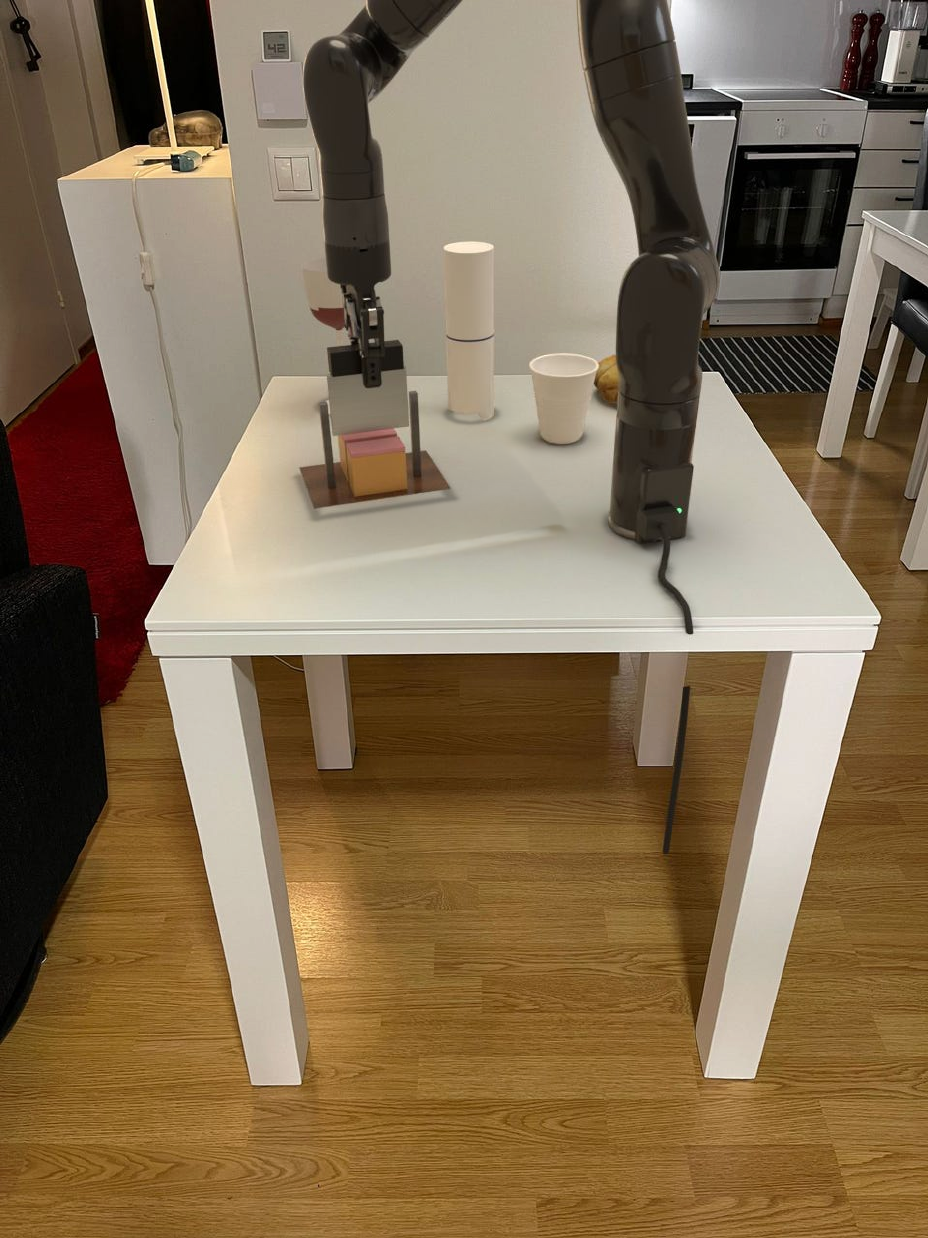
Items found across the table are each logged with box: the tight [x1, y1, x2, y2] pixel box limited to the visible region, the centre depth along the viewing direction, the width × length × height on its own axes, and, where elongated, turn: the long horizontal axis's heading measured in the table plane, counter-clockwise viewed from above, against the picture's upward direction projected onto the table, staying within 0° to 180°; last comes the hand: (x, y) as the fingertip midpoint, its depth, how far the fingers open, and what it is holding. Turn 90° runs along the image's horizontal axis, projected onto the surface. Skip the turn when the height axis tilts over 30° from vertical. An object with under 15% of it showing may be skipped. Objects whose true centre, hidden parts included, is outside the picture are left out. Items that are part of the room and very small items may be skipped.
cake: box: [337, 428, 407, 497], centre depth 128 cm, size 10×7×6 cm
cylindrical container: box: [443, 241, 495, 422], centre depth 145 cm, size 7×7×25 cm
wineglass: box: [300, 257, 345, 415], centre depth 149 cm, size 9×10×22 cm
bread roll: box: [593, 354, 619, 404], centre depth 153 cm, size 13×10×8 cm
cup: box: [528, 352, 599, 445], centre depth 140 cm, size 10×10×11 cm
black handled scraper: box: [326, 339, 410, 437], centre depth 122 cm, size 2×10×11 cm, turn 106°
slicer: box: [298, 390, 452, 509], centre depth 126 cm, size 13×18×13 cm
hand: (367, 377), depth 121 cm, fingers open, 6 cm apart
